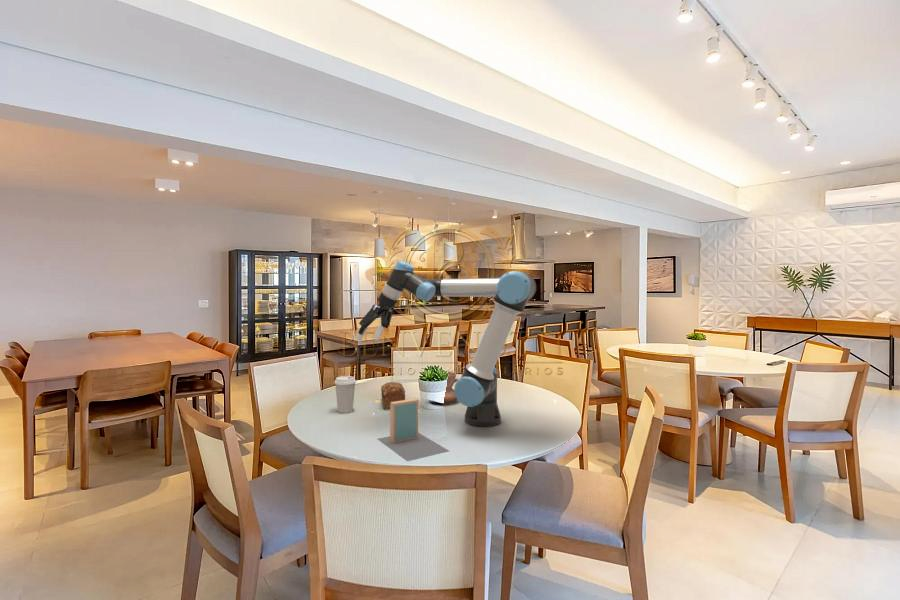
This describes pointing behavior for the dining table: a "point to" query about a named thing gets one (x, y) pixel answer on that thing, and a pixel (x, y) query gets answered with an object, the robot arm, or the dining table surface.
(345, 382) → the coffee cup
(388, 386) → the bread
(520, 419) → the dining table surface
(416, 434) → the tile
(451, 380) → the ceramic jug
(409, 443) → the mat
